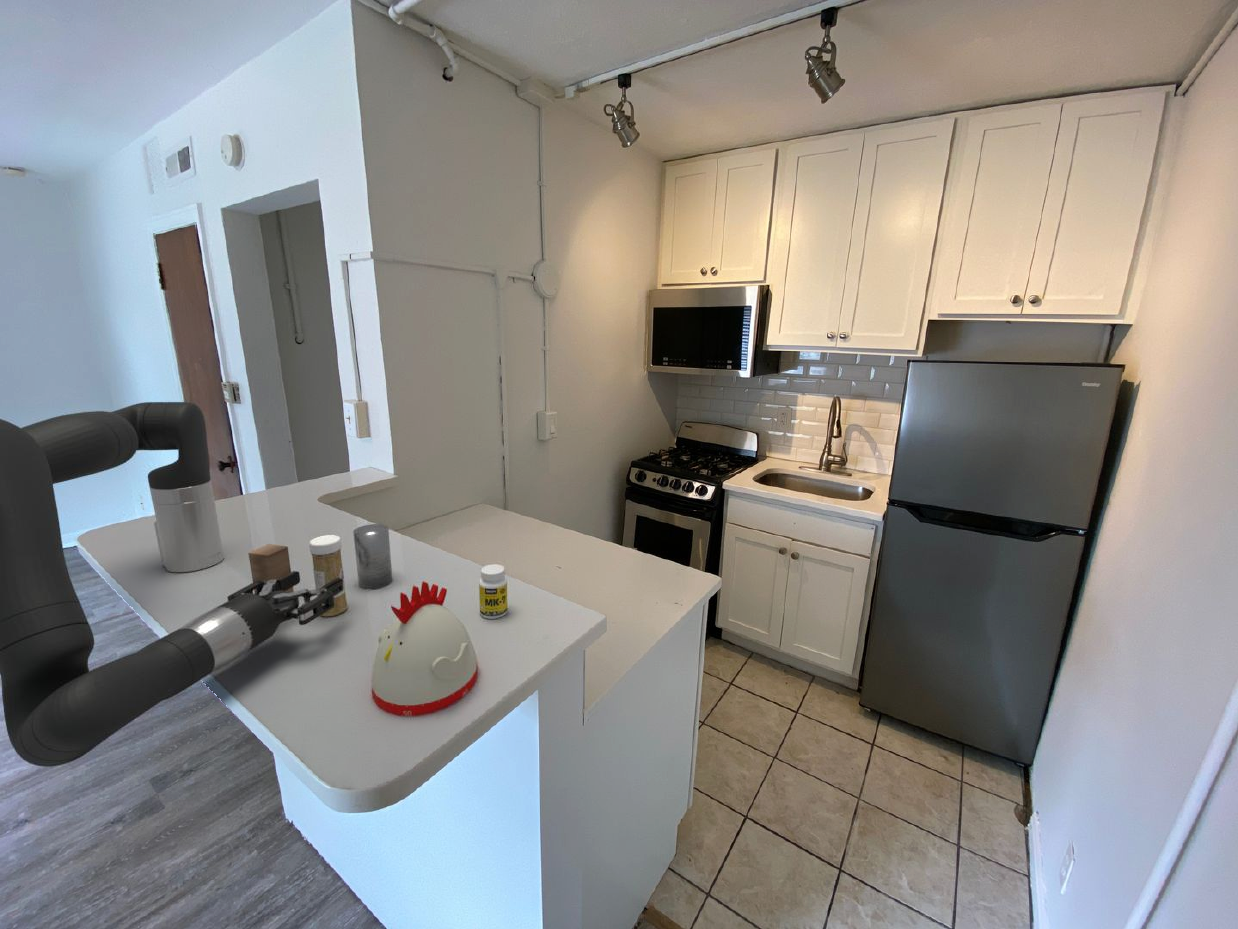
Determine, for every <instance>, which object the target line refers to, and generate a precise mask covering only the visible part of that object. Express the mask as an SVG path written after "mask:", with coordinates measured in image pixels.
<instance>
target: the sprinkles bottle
mask: <svg viewBox="0 0 1238 929" xmlns="http://www.w3.org/2000/svg"><path fill="white" fill-rule="evenodd" d="M341 551H342V541H341V537H340V536H338V535H336V534H335V535H333V534H329V535H328V534H326V535H321V536H318V537H314V538H313V539H311V540H310V541H309V552H310V554H311V558H312V567H313V569H312V570H313V576H314V584H315V589H319V588H321V587H323V586H324V585H326V584H328V583H329V582H331V581H333V580H334V579H336V578H342V579H343V591H341V592H339V593H338V594H337V595H335V596H334V603H335V607H333V608H332V609H330V610H329V611H327V612H325V613H324V614H322V615H321V617H334V616H338V615H341V614H342V613H344V612H345V611H346V610H348V606H349V605H348V602H347V597H346V596H347V595H346V584H345V575H344V567H343V561H342V560H343V559H342V552H341ZM316 597H318V595H316ZM322 606H324V605H322Z"/></svg>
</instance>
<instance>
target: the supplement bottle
mask: <svg viewBox="0 0 1238 929" xmlns="http://www.w3.org/2000/svg"><path fill="white" fill-rule="evenodd" d="M480 575H481V576H480V579H479V582H478V591H479V597H478V599H479V614H480V616H481V617H483V618H484V619H489V620H492V619H493V620H495V619H498V618H501V617H503V616H505V615H506V614H507V612H508V578H506V577H507V576H506V570H505V566H503V565H501V564H487V565H484V566H483V567H482V568H481V570H480Z"/></svg>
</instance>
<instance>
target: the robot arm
mask: <svg viewBox="0 0 1238 929" xmlns="http://www.w3.org/2000/svg"><path fill="white" fill-rule="evenodd" d="M137 451H178V454H177V455H178V456H177V460H175V461H173V462H171V463H169V464H166V465H163V466H160V467H156V468H154V469H153V470H150V471H149V472H148V474H147V482H148V486H149V491H150V497H151V502H152V505H153V512H154V515H155V521H154V524H153V525H154V531H155V535H156V539H157V540H156V541H157V546H158V550H159V555H160V559H161V565H162V567H165V569H166V571H167V572H170V573H171V572H172V573H189V572H194V571H199V570H200V571H201V570H203V569H207V568H210V567H213V566H215V565H217V564H219V563H220V562H222V561H223V560H224V558H225V555H224V549H223V543H222V537H221V530H220V525H219V518H218V513H217V507H216V502H215V496H214V490H213V484H212V480H211V479H212V478H211V472H210V471H211V470H210V469H211V468H210V467H211V462H210V453H209V446H208V435H207V426H206V420H205V416H204V413H203V411H202V410H201V408H200V407H199V405H197V404H196V403H193V402H188V401H159V402H158V401H146V402H145V401H144V402H139V403H135V404H131V405H128V406H126V407H122V408H120V409H116V410H114V411H105V410H98V411H97V410H96V411H81V412H75V413H67V414H62V415H59V416H54V417H51V418H48V419H44V420H39V421H37V422H34V423H31V424H29V425H25V426H23V427H20V426H19V425H16V424H13V423H12V422H10V421H8V420H5V419H2V418H0V680H1V697H2V708H3V714H4V722H5V727H6V732H7V736H8V738H9V741H10V744H11V747H12V748H13V749H14V751H15V752H16V754H17V755H18V756H19V757H20V759H22V760H24V761H25V762H26V763H28V764H31V765H34V766H37V767H45V768H46V767H49V768H51V767H58V766H64V765H65V764H70V763H71V762H74V761H76V760H78V759H80V758H81V757H83V756H85V755H86V754H87V753H89V752H90V751H92V750H93V749H95V748H96V747H98V746H99V745H101V744H102V743H103V742H104V741H106V740H107V739H108V738H110V737H111V736H112V735H114V734H115V733H117V732H118V731H120V730H121V729H123V728H124V727H125V726H127V725H128V724H130V723H131V722H133V721H134V720H136V719H137V718H139V717H140V716H142V715H144V714H145V713H146V712H148V711H149V710H151V709H152V708H154V707H155V706H157V705H158V704H160V703H161V702H162V701H166V700H168V699H170V698H173V697H175V696H177V695H178V694H180V693H182V692H183V691H185V690H187V689H189V688H190V687H192V686H194V685H195V684H197V683H198V682H200V681H201V680H203V679H204V678H206V677H207V676H209V675H211V674H213V673H214V672H216V671H218V670H220V669H223V668H224V667H226V666H228V665H229V664H231V663H233V662H235V661H236V660H237V659H239V658H240V657H242V656H244V655H246V654H247V653H249V652H251V651H252V650H253V649H254V648H256V647H258V646H259V645H261V644H263V643H264V642H266V641H267V640H269V639H270V638H272V637H273V636H274V634H275V632H276V631H277V630H278V628H279V626H280V625H281V624H282V623H285V622H288V621H290V620H292V619H296V620H298V623H299V624H298V625H300V626H304V625H307V624H309V623H311V622H312V621H314V620H315V619H317V618H318V617H321V616H322V614H324V613H325V612H327V611H329V610H330V609H332V608H333V607H335V603H334V596H335V595H337V594H338V593H339V592H341V591H343V579H342V578H336V579H334V580H333V581H331V582H329V583H328V584H326V585H324V586H323V587H321V588H319V589H316V588H315V589H312V590H309V589H307V588H304V589H298V590H295V591H294V592H285V591H286V590H288V589H290V588H291V587H293V588H294V587H295V586H297V585H299V583H301V576H300V572H299V571H295V570H292V571H291V573H289V574H287V575H285V576H283V577H281V578H279V579H277V580H269V581H268V582H267V583H264V580H258V581H255V582H253V581H252V582H251V583H250V584H248V585H246V586H244V587H242V588H240V589H239V590H236V591H235V592H233V593H231V594H230V595H228V596H227V601H226V602H224V603H222V604H220V605H218V606H216V607H214V608H212V609H210V610H208V611H206V612H205V613H203V614H201V615H199V616H197V617H195V618H193V619H191V620H190V621H189V622H187V623H186V624H184V625H183V626H181V627H180V628H178V629H176V630H174V631H172V632H170V633H168V634H167V635H164V636H163V637H161V638H159V639H157V640H154V641H152V642H150V643H149V644H147V645H145V646H143V647H142V648H141V649H139V650H138V651H136V652H134V653H133V652H132V653H130V654H128V655H125V656H122V657H120V658H118V659H115V660H112V661H110V662H108V663H105V664H103V665H101V666H99V667H96V668H94V669H92V670H90V668H89V658H90V656H91V654H92V652H93V649H94V647H95V638H94V633H93V631H92V628H91V625H90V623H89V621H88V618H87V616H86V614H85V611H84V609H83V606H82V604H81V601H80V599H79V597H78V594H77V592H76V589H75V587H74V585H73V582H72V579H71V577H70V573H69V572H70V571H69V570H68V566H67V562H66V557H65V553H64V547H63V540H62V533H61V526H60V519H59V513H58V507H57V506H58V505H57V501H56V495H55V489H54V488H55V487H54V485H56V484H60V483H63V482H68V481H70V480H71V481H72V480H75V479H79V478H82V477H87V476H91V475H95V474H98V473H102V472H105V471H108V470H111V469H114V468H117V467H120V466H122V465H123V464H125V463H127V462H129V461H130V460H131V459H132V458H133V457H134V456H135V455H136V454H137V453H136V452H137ZM254 589H256V593H255V592H254ZM317 595H318V597H317ZM315 596H316V597H315ZM312 597H314V598H313V599H311V598H312ZM300 598H303V603H301V605H300V600H299V599H300ZM322 605H324V606H322Z"/></svg>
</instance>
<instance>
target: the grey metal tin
mask: <svg viewBox="0 0 1238 929" xmlns="http://www.w3.org/2000/svg"><path fill="white" fill-rule="evenodd" d="M352 532H353V533H352V535H353V540H354V541H353V542H354V553H355V561H356V571H357V573H356V574H357V581H358V588H360V589H362V590H366V589H373V590H379V589H382V588H385V587H387V586H389V585H390V584H392V582H393V570H392V569H393V568H392V556H391V547H390V546H391V545H390V544H391V543H390V532H389V526H388V525H386V524H382V523H380V524H379V523H373V524H365V525H362V526H359V527H357V528H355V529H354V530H352Z"/></svg>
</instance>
